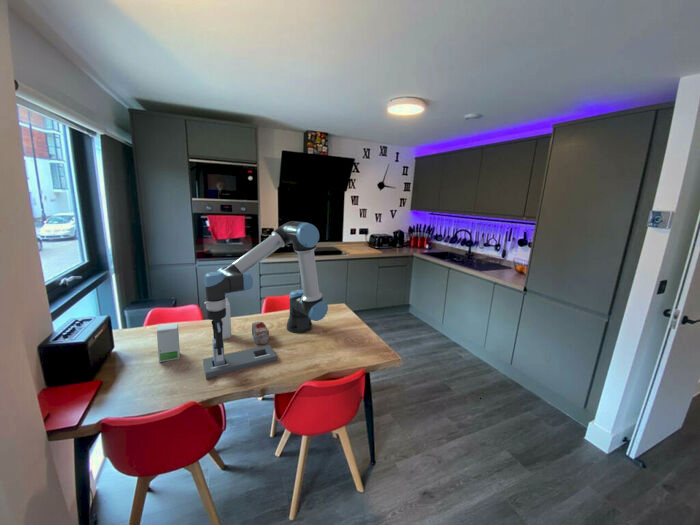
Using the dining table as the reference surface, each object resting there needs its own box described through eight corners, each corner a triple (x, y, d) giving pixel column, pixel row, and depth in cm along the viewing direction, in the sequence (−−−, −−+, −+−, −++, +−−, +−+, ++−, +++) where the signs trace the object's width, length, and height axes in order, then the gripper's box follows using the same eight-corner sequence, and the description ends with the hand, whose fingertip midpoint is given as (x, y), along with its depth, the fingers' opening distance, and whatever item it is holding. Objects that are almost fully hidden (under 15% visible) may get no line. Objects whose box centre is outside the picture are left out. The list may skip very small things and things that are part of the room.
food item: (271, 344, 151) (270, 327, 149) (255, 347, 147) (255, 330, 145) (264, 333, 162) (263, 317, 160) (249, 336, 158) (249, 320, 156)
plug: (223, 362, 130) (222, 336, 127) (224, 366, 127) (223, 339, 124) (213, 364, 128) (212, 337, 125) (215, 368, 125) (213, 341, 122)
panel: (269, 349, 145) (269, 344, 144) (276, 361, 135) (276, 355, 134) (203, 365, 130) (203, 358, 129) (206, 379, 120) (205, 372, 119)
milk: (231, 337, 156) (230, 299, 152) (220, 340, 152) (218, 301, 148) (227, 333, 161) (225, 295, 156) (216, 336, 157) (214, 298, 152)
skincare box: (158, 362, 130) (155, 331, 127) (160, 355, 136) (157, 325, 132) (180, 358, 134) (177, 328, 130) (180, 352, 139) (178, 322, 136)
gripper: (204, 303, 127) (207, 351, 132) (208, 317, 113) (211, 370, 118) (222, 300, 131) (225, 347, 136) (228, 313, 116) (231, 365, 121)
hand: (219, 357), depth 127 cm, fingers closed on plug, 4 cm apart
